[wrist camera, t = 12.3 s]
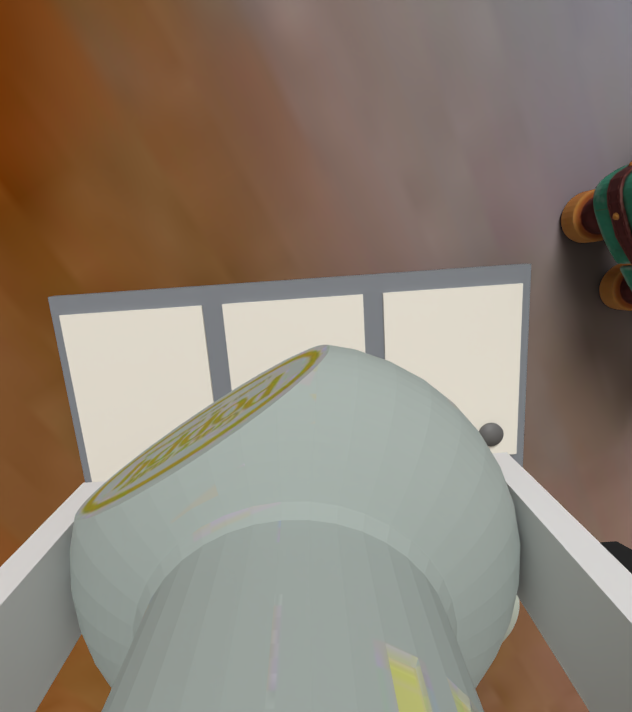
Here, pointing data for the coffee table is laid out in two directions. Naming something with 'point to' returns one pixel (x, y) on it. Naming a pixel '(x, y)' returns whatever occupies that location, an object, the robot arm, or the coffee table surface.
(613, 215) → the binoculars
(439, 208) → the coffee table surface
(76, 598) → the air freshener
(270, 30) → the coffee table surface
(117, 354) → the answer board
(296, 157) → the coffee table surface
